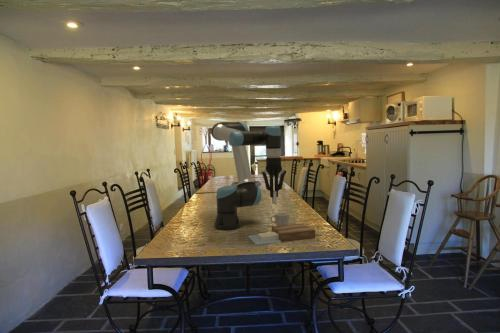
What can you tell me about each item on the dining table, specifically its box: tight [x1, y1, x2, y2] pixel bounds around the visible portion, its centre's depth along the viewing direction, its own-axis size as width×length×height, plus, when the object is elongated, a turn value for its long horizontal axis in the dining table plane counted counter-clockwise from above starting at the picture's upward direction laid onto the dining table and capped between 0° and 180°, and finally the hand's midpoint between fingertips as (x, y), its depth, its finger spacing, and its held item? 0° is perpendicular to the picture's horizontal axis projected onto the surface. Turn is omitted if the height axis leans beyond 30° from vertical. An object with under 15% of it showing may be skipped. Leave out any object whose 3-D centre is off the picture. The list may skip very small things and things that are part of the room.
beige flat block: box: [257, 231, 279, 241], centre depth 165 cm, size 6×9×2 cm, turn 107°
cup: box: [269, 211, 290, 226], centre depth 186 cm, size 11×8×8 cm
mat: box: [247, 234, 282, 246], centre depth 164 cm, size 15×13×1 cm
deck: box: [271, 223, 316, 243], centre depth 169 cm, size 14×18×4 cm
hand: (274, 203), depth 164 cm, fingers closed
